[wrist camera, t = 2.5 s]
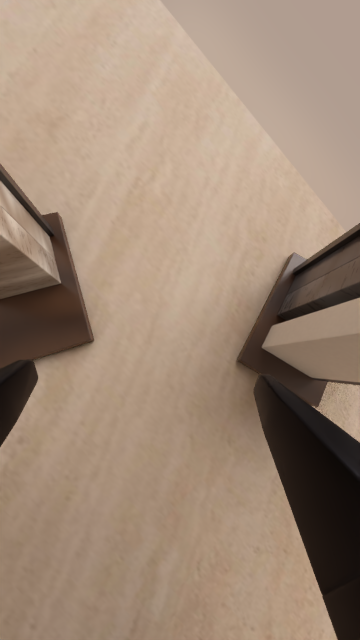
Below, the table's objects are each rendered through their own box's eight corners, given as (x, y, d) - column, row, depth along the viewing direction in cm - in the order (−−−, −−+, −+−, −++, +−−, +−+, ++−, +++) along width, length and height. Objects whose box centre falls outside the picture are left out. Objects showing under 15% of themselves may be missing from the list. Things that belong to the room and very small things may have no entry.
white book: (314, 380, 22) (558, 408, 9) (260, 347, 22) (417, 325, 9) (324, 356, 23) (562, 349, 9) (271, 325, 23) (431, 273, 10)
